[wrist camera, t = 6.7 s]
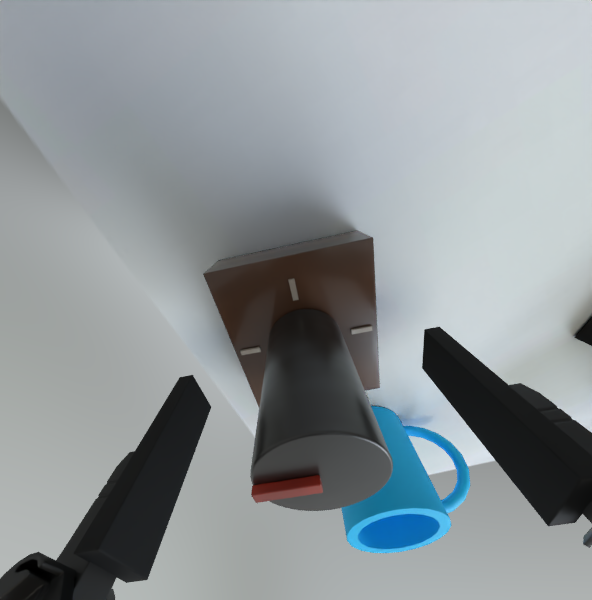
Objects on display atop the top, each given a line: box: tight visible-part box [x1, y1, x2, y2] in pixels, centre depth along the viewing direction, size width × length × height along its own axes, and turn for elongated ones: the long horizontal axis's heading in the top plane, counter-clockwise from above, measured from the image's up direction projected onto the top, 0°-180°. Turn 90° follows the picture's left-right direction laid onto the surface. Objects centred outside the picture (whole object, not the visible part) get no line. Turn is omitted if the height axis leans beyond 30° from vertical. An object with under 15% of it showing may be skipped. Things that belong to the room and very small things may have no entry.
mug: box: [342, 406, 470, 553], centre depth 20 cm, size 12×8×8 cm
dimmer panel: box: [204, 231, 380, 407], centre depth 16 cm, size 12×10×3 cm
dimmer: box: [251, 309, 393, 511], centre depth 11 cm, size 5×5×8 cm
